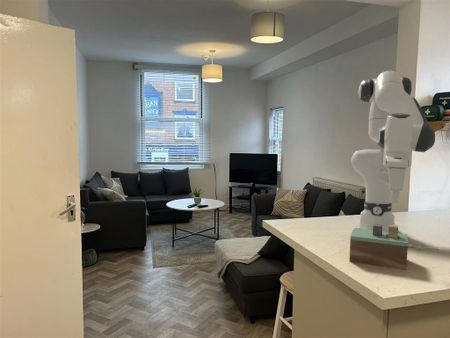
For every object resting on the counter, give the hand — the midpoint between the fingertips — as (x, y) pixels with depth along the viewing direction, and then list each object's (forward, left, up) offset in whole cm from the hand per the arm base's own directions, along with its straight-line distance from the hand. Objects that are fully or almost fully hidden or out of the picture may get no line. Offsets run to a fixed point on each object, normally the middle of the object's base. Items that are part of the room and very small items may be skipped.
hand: (394, 200), depth 124 cm
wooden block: (0, 0, -22) cm, 22 cm away
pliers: (-24, +9, -24) cm, 35 cm away
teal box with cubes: (0, -5, -14) cm, 15 cm away
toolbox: (0, -5, -23) cm, 24 cm away
